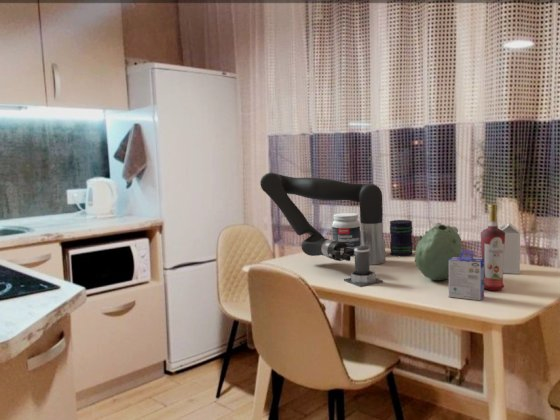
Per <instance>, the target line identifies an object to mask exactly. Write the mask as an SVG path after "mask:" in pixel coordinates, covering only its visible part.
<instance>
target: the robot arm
mask: <svg viewBox="0 0 560 420" xmlns="http://www.w3.org/2000/svg"><path fill="white" fill-rule="evenodd" d="M259 182H260V183H259V184H260V188H261V189H262V191H263V192H264V193H265V194H266V195H267V196H268V197H269V198H270V199H271V200H272V201H273V202H274V204H275V205H276V206H277V207H278V209H279V210H280V211H281V212H282V214H283V216H284V217H285V219H286V221H287V222H288V224H289V225H290V226H291V227H292V229H293V231H294V232H295V234H296V235H298V236H303V235H305V234H308V235H309V236H308V237H307V238H306V239H304V240H303V241H302V243H301V246H300V248H301V250H302V252H303V253H304V254H306V256H307V255H308V256H311V257H317V256H322V257H323V256H324V257H326V258H328V259H331V260H334V261H338V262H343V261H347V262H351V258H355V255H354V248H351V247H348V245H347V244H346V243H344V242H341V241H336V240H333V239H329V238H325V237H324V235H323V234H322V233H320V232H319V231H318V230H317V229H316V228H315V227H313V226H312V225H311V223H309V221H308V219H307V218H306V217H305V215H304V214H303V212H302V211H301V210H300V209H299V207H298V206H297V205H296V204H295V202H294V201H292V198H290V196H289V195H294V196H299V197H303V198H306V199H310V200H319V201H326V202H327V201H328V202H331V201H335V202H336V201H351V202H354V203H355V202H356V203H359V222H360V246H367V247H369V266H370V265H372V266H373V265H381V264H383V263H386V240H385V239H384V229H383V228H384V227H383V225H384V224H383V220H384V219H383V215H384V213H383V211H384V210H383V193H382V190H381V188H380V187H379V186H378V185H377V184H374V183H348V182H346V181H345V182H344V181H343V182H342V181H341V180H340V181H339V180H336V179H335V180H334V179H329V178H323V177H321V178H320V177H292V176H288V175H283V174H280V173H276V172H267V173H265V174H264V175H262V176H261V179H260V181H259Z"/></svg>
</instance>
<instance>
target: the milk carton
mask: <svg viewBox="0 0 560 420" xmlns="http://www.w3.org/2000/svg"><path fill="white" fill-rule="evenodd" d="M498 229H500V230H502V231H504V232H505V248H504V261H503V274H514V275H520V274H521V271H520V270H521V232H520V229H518V228H517V227H516V226H514V225H513V224H512V223H511V222H510V219H508V223H507V224H505V223H503V224H501V225H500V226H499V227H498Z"/></svg>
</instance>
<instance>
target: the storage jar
mask: <svg viewBox="0 0 560 420" xmlns="http://www.w3.org/2000/svg"><path fill="white" fill-rule="evenodd" d="M389 224H390V225H389V234H390V243H389V246H390V247H389V249H390V255H391V256H393V257H399V256H400V257H410V256H413V249H414V248H413V247H414V246H413V240H412V238H413V235H412V234H413V221H412V220H408V219H396V220H390V221H389Z"/></svg>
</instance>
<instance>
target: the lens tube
mask: <svg viewBox="0 0 560 420" xmlns="http://www.w3.org/2000/svg"><path fill="white" fill-rule="evenodd" d="M354 253H355V257H354V271H355V275H370V271H371V270H370V264H369V247H367V246H361V245H360V246H357V247H354Z"/></svg>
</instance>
